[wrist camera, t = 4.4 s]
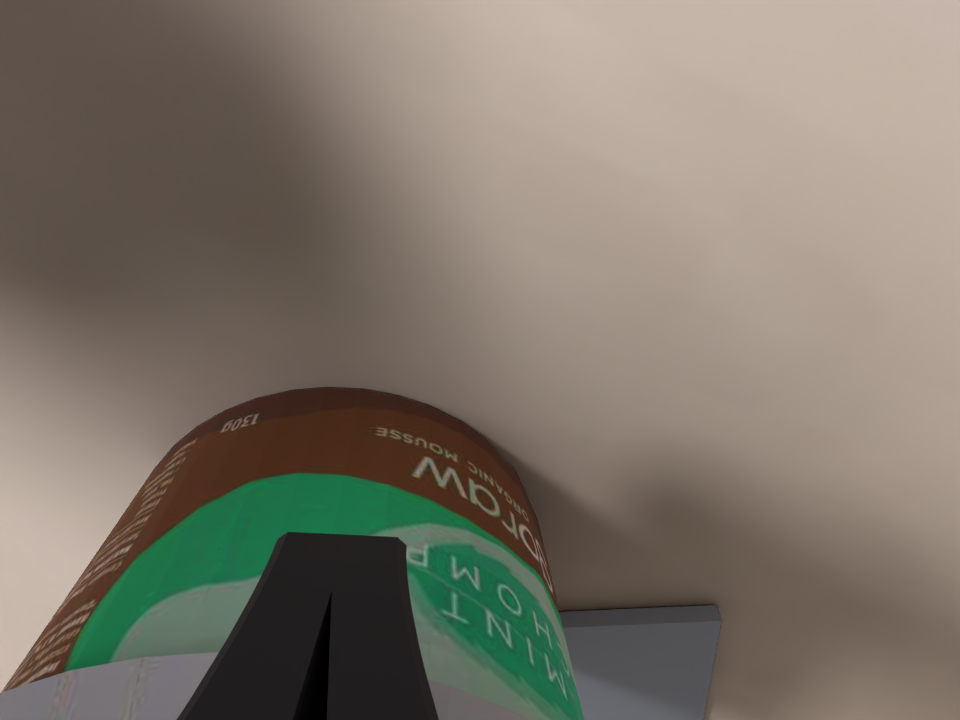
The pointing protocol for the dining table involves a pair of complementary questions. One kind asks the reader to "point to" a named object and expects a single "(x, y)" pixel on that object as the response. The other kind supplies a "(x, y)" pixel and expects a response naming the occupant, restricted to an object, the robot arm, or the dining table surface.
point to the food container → (309, 509)
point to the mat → (643, 661)
